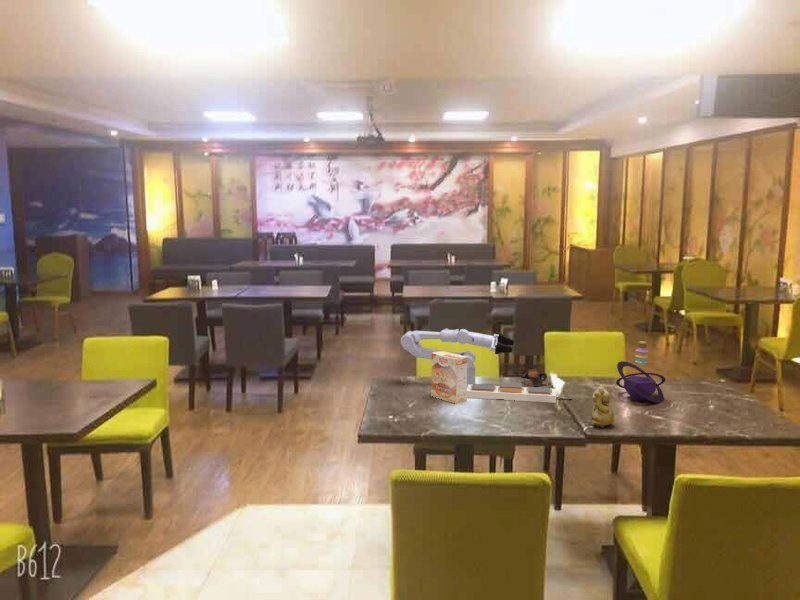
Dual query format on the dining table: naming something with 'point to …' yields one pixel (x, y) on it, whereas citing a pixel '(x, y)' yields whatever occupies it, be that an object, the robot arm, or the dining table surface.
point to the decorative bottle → (640, 379)
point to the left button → (483, 387)
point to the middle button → (511, 387)
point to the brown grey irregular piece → (534, 377)
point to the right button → (539, 390)
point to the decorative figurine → (602, 408)
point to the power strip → (513, 395)
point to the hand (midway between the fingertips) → (513, 346)
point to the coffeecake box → (449, 377)
